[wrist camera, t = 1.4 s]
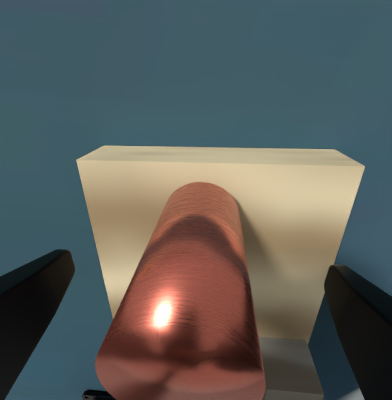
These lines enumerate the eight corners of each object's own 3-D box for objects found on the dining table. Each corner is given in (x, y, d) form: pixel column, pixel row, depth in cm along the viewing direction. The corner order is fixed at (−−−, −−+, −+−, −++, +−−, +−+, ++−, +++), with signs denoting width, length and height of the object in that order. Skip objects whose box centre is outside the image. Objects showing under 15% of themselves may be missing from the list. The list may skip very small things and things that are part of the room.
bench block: (276, 379, 22) (294, 472, 17) (142, 366, 23) (119, 450, 18) (334, 149, 13) (417, 195, 7) (104, 145, 14) (31, 183, 9)
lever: (227, 405, 19) (232, 572, 12) (173, 399, 19) (149, 559, 13) (251, 181, 10) (301, 335, 4) (154, 178, 11) (57, 316, 4)
